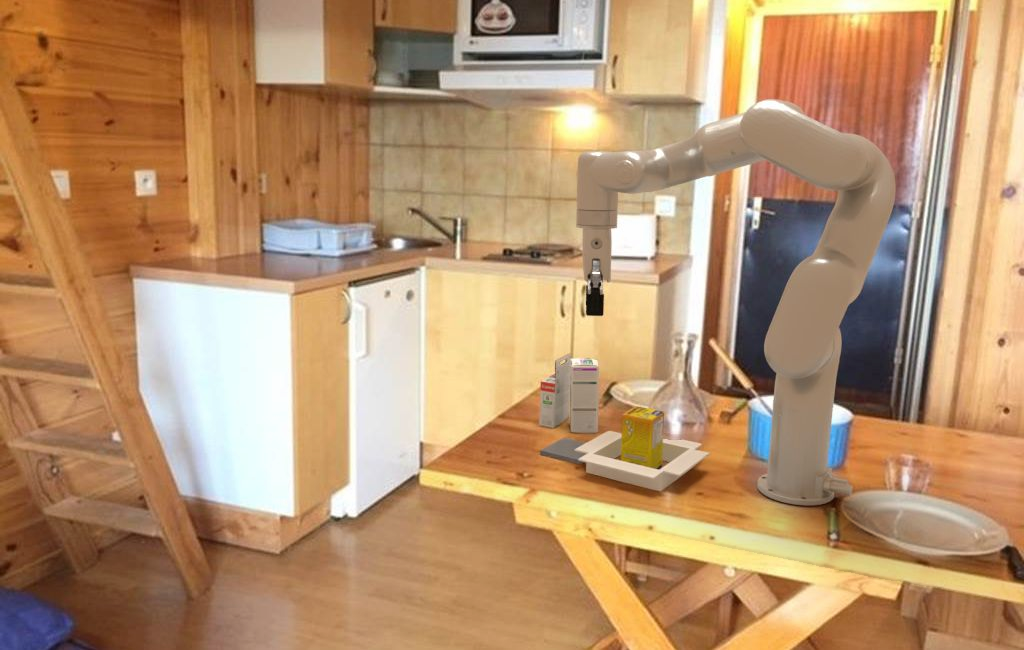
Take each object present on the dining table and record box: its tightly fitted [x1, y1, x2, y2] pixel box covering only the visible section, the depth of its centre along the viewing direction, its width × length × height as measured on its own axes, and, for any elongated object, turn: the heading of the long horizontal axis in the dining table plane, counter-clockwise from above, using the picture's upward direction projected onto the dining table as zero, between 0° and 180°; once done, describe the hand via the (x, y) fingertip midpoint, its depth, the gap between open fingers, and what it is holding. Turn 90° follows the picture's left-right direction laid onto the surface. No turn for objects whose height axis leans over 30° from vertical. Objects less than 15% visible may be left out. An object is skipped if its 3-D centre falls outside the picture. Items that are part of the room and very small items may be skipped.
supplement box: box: [620, 405, 665, 470], centre depth 155 cm, size 6×6×11 cm
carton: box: [574, 430, 710, 492], centre depth 155 cm, size 21×21×4 cm
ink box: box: [538, 352, 572, 429], centre depth 180 cm, size 4×8×15 cm, turn 152°
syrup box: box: [569, 357, 600, 434], centre depth 176 cm, size 6×6×14 cm
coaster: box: [539, 437, 587, 465], centre depth 164 cm, size 9×9×1 cm
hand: (594, 310), depth 161 cm, fingers open, 9 cm apart
